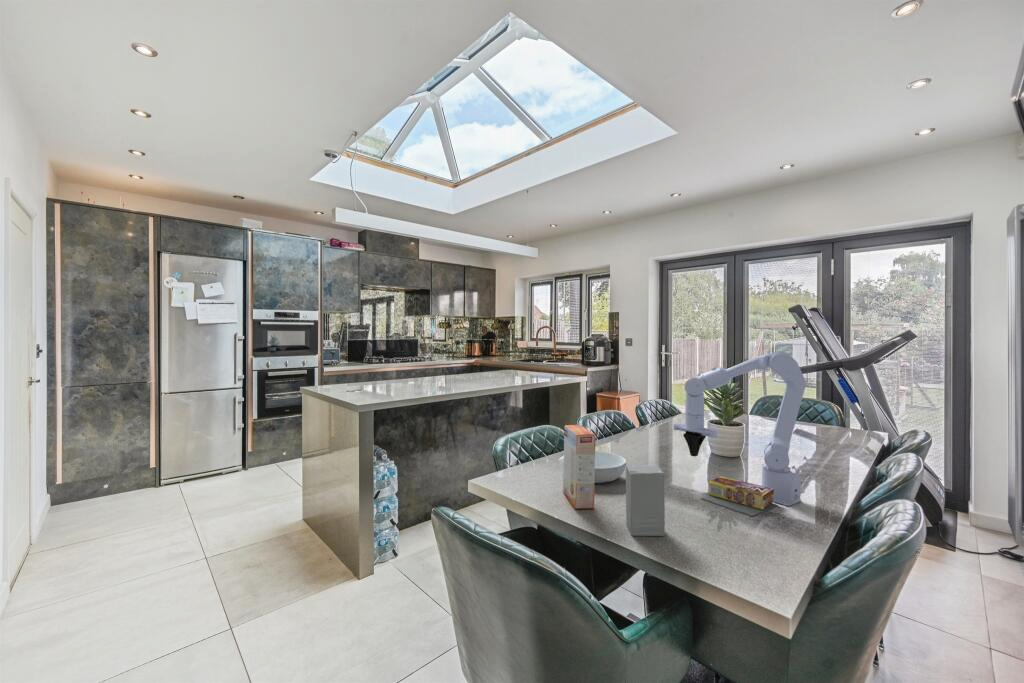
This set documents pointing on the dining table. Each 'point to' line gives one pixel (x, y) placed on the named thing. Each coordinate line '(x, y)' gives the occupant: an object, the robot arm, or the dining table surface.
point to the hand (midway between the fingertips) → (694, 455)
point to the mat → (737, 506)
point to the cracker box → (579, 466)
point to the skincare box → (645, 500)
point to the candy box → (741, 492)
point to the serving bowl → (608, 466)
